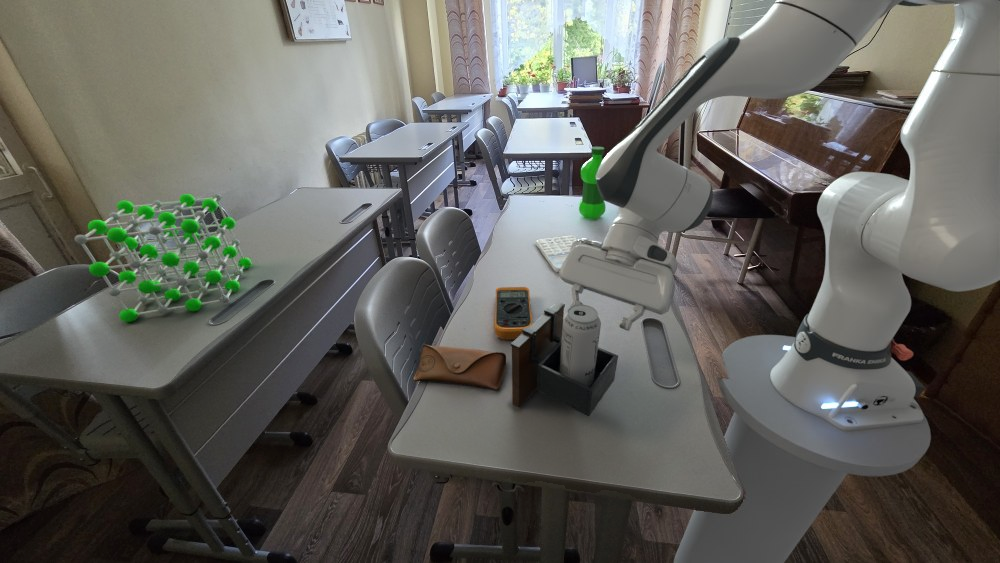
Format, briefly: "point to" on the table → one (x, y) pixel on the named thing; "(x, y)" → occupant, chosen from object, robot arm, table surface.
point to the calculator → (556, 249)
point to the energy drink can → (580, 343)
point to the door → (521, 354)
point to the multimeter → (512, 312)
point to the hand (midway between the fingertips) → (598, 319)
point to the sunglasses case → (461, 366)
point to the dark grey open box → (566, 387)
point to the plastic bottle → (592, 187)
